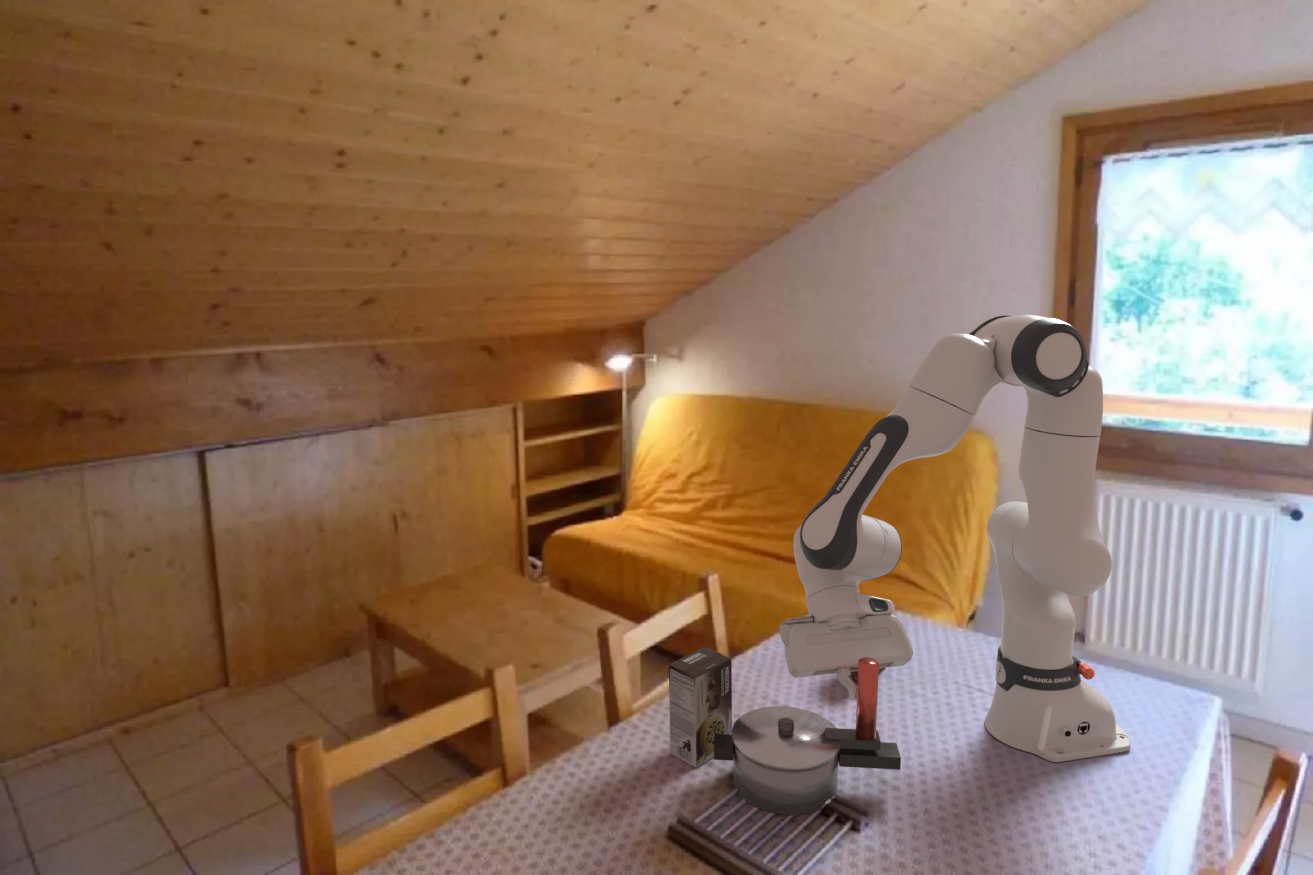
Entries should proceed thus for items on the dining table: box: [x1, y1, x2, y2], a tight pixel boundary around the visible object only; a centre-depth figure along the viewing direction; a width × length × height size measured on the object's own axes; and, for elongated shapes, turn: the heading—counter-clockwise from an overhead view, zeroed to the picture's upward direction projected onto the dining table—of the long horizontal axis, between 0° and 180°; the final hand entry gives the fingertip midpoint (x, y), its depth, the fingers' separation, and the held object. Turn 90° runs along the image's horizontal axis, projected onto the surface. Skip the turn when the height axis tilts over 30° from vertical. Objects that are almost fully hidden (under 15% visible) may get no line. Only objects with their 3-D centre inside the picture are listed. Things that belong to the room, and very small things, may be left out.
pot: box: [713, 734, 902, 816], centre depth 128 cm, size 28×16×7 cm, turn 84°
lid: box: [732, 657, 882, 771], centre depth 125 cm, size 22×17×14 cm
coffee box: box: [668, 646, 733, 769], centre depth 136 cm, size 9×6×16 cm
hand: (861, 698), depth 127 cm, fingers closed, pressing on lid
